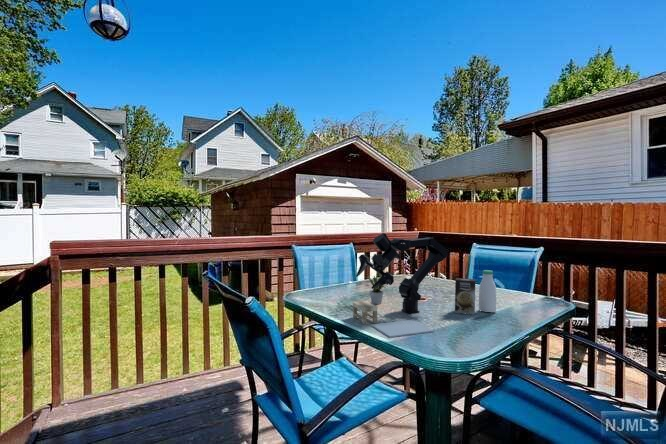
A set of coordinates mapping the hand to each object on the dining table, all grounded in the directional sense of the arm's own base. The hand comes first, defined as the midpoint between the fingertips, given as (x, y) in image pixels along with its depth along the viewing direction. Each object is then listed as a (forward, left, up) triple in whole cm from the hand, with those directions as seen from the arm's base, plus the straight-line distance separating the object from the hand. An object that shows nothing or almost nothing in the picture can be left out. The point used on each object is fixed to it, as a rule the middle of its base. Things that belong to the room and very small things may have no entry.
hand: (363, 282), depth 154 cm
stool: (+1, +3, -16) cm, 16 cm away
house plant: (-17, -22, -16) cm, 33 cm away
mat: (-8, +19, -16) cm, 26 cm away
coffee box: (-50, +8, -16) cm, 53 cm away
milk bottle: (-62, +10, -16) cm, 65 cm away
